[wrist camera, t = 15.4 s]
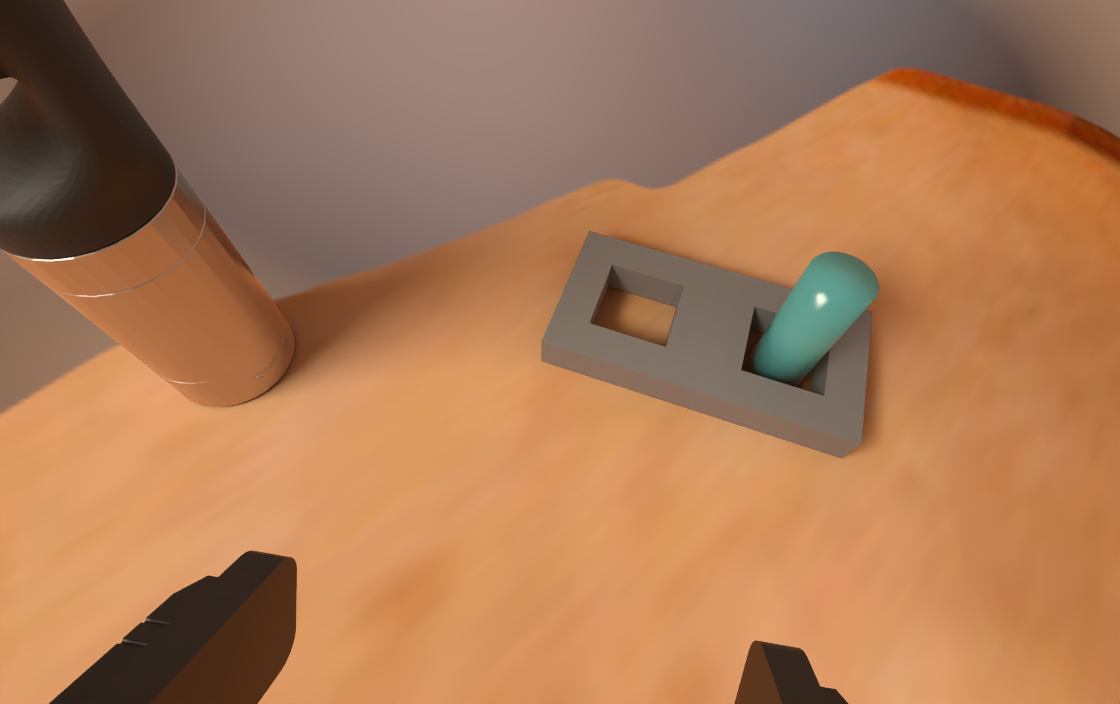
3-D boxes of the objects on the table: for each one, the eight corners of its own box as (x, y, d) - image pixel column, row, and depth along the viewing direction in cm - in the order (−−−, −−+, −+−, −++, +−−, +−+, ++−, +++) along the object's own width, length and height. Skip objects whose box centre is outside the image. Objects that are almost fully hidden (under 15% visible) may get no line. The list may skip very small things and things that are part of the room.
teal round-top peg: (742, 383, 45) (803, 295, 34) (751, 339, 47) (811, 244, 37) (797, 401, 44) (876, 316, 34) (804, 355, 46) (880, 263, 36)
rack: (541, 361, 45) (541, 341, 43) (587, 253, 51) (589, 230, 48) (841, 458, 42) (861, 443, 39) (853, 331, 48) (872, 311, 45)
